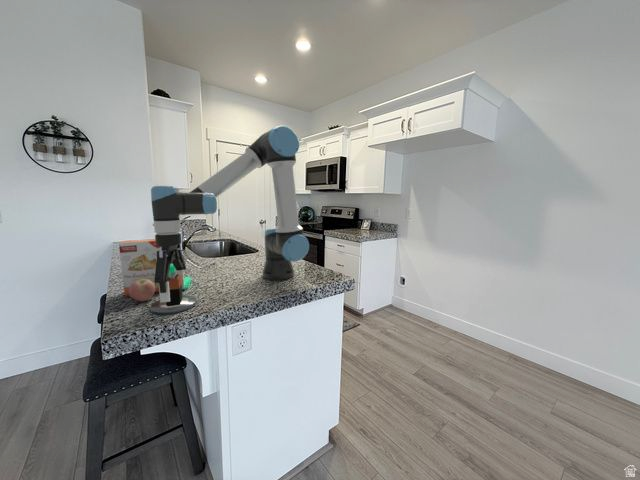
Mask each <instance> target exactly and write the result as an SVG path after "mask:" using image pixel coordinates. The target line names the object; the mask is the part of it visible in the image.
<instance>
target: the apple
mask: <svg viewBox="0 0 640 480" xmlns="http://www.w3.org/2000/svg"><path fill="white" fill-rule="evenodd" d="M155 293H156V292H155V285H154V283H153V282H152V281H151V280H149V279H139V280H136V281H134V282H133V283H132V284H131V285H130V287H129V294H130V295H129V296H130V297H131V299H133V300H134V301H137V302H146V301H149V300H151V298H153V296H154V295H155Z"/></svg>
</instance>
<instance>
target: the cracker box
mask: <svg viewBox="0 0 640 480" xmlns="http://www.w3.org/2000/svg"><path fill="white" fill-rule="evenodd" d="M118 248H119V249H118V250H119V257H120V264H121V265H120V266H121V267H120V268H121V277H122V283H123V285H122V286H123V293H124V297H128V296H130V294H129V287H130V285H131V284H132V283H133V282H134V281H136V280H139V279H149V280H151V281H152V282H153V283H154V285H155V292H154V293H159V283H155V282H154V279H155V271H156V262H157V251H161V250H162V247H161V246H157V245H156V241H155V238H154V239H135V240H133V239H132V240H122V241H121V242H118Z"/></svg>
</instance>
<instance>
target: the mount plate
mask: <svg viewBox="0 0 640 480" xmlns="http://www.w3.org/2000/svg"><path fill="white" fill-rule="evenodd" d="M182 295H183V298H182V301H181V304H179V305H172V306H166V302H160V299H158V300H156V301H155V302H153V303H151V305H150V312H151V313H152V314H155V315H164V316H165V315H173V314H178V313H181V312H185V311H188V310H191V309H193V308H194V307H195V306H196V305H197V301H198V300H197V297H196V296H194V295H187V294H186V295H185V294H182Z"/></svg>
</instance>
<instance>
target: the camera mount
mask: <svg viewBox="0 0 640 480" xmlns="http://www.w3.org/2000/svg"><path fill="white" fill-rule="evenodd" d="M175 271H177V270H176V269H175V267H174V265H173V263H171V264H170V269H169V274H168V275H171V273H175ZM191 282H192V277H191V276H186V277H185V276H184V284H185V287H184V288H182V290H185V289H188V288H189V287H190V286H191Z"/></svg>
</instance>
